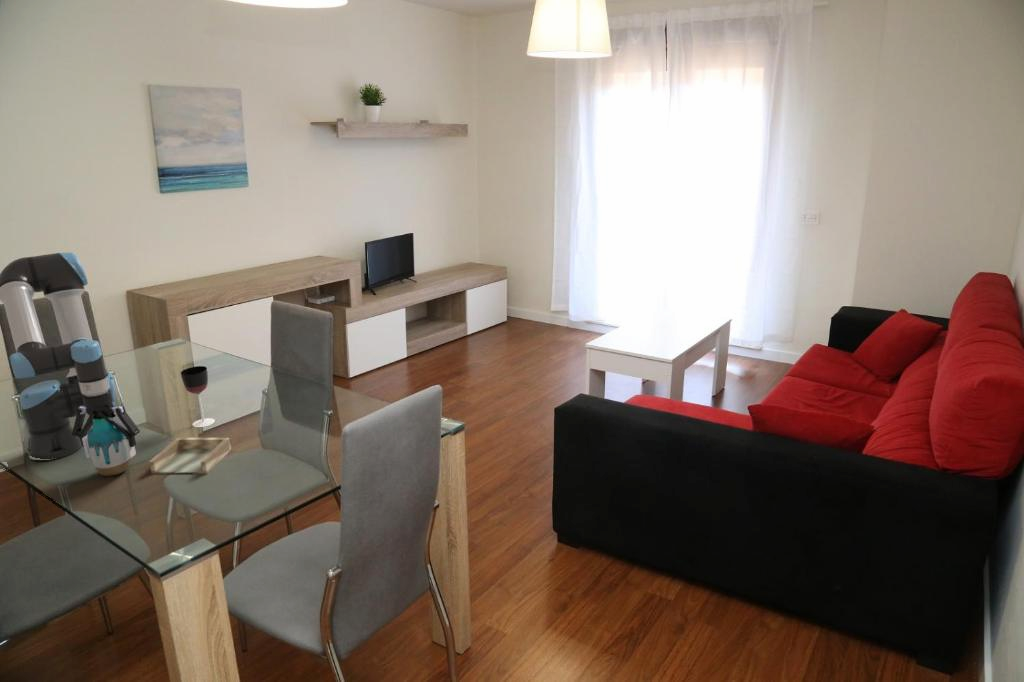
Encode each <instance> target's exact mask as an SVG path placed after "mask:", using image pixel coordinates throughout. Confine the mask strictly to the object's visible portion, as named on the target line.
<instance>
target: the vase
mask: <svg viewBox="0 0 1024 682" xmlns="http://www.w3.org/2000/svg"><path fill="white" fill-rule="evenodd" d="M112 418H113V416H112V417H111V419H112ZM92 422H93V425H92V427H91V428H90V430H89V431H88V434H87V435H88V436H87V440H88V447H89V451H90V455H91V457H90V458H91V461H92V464H93V466H94V469H95V470H96V472H98V474H100V475H103V476H108V477H109V476H111V477H112V476H116V475H120V474H122V473H123V472H125V471H127V469H129V468H130V466H131V463H132V458H129V457H128V453H127V448H126V444H125V440H124V438H126V436H125V435H124V434H122V433H121V432H120V431H119V430H118V429H117V428H116V427H115V426H113V425H112V424H111V423H108V422H107V421H106V420H105V419H104V418H103V419H94V418H93V419H92Z"/></svg>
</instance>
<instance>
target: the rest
mask: <svg viewBox="0 0 1024 682" xmlns="http://www.w3.org/2000/svg"><path fill="white" fill-rule="evenodd" d="M231 449H232V444H231V441H230V437H177V438H175V439H174V440H172V441H171V443H169V444H168V445H167V446H166V447H165V448H163V449H162V450H161V451H160V452H159V453H158V454H156V455H155V456H154V457H152V459H151V460H149V461H148V464H149V468H150V472H151V473H150V474H174V473H173V472H189V473H193V474H192V475H194V474H195V475H197V474H198V475H201V474H205V475H207V474H209V473H210V472H211V471H212V470H213V469H214V468H215V467H216V466H217V465H218V464H219V463H220V462H221V461H222V460H223V459H224V457H226V456H227V455H228V453H229V452H230V451H231ZM180 470H181V471H180Z"/></svg>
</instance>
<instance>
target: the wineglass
mask: <svg viewBox="0 0 1024 682" xmlns="http://www.w3.org/2000/svg"><path fill="white" fill-rule="evenodd" d="M180 376H181V379H182V383H183V385H184V388H185V389H186V391H187V392H188V393H190V394H195V395H196V396H197V401H198V406H199V411H200V416H201V419H197V420H195V421H194V422H193V423H192V427H195V428H203V427H208V426H211V425H212V424H214V423H215V422H216V420H215V418H211V417H207V418H205V415H204V411H203V406H202V400H201V395H200V394H201V393H202V392H203V391H205V390H206V388H207V387H208V385H209V384H208V383H209V380H208V379H209V377H208V367H207V366H204V365H197V366H192V367H188V368H186V369H183V370H182V371H181V372H180Z"/></svg>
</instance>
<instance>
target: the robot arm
mask: <svg viewBox="0 0 1024 682" xmlns="http://www.w3.org/2000/svg"><path fill="white" fill-rule="evenodd" d="M88 281H89V280H88V279H87V275H86V272H85V270H84V267H83V265H82V262H81V260H80V259H79V257H78V256H77V254H75V253H74V252H70V251H69V252H57V253H49V254H43V255H35V256H29V257H27V256H25V257H21V258H20V257H19V258H18V259H15V260H12V261H11V262H10V263H8V264H7V265H6V266H5V267H4V268H3V269H2V271H1V272H0V302H2V303H3V305H4V310H5V314H6V318H7V321H8V326H9V329H10V333H11V338H12V340H13V344H14V348H15V353H12V354H10V355H9V360H10V366H11V369H12V371H13V375H14V377H15V378H17V379H25V378H34V377H37V376H42V375H46V374H50V373H54V372H55V373H56V372H59V371H61V372H62V371H66V370H69V372H68V373H67V375H66V382H63V383H61V382H60V380H57V379H49V380H43V381H40V382H37V383H35V384H32V385H30V386H28V387H27V388H25V389H24V390H23V391H21V393H20V395H19V402H20V409H22V412H23V417H24V420H25V423H26V424H25V425H26V427H27V431H28V443H27V444H28V445H27V456H28V455H30V456H32V457H35V458H40V459H52V458H53V459H55V458H56V459H55V460H58V459H57V458H59V459H62V458H65V457H67V456H69V455H72V454H74V453H76V452H77V451H79V450H80V449H81V448H83V449H84V452H85V456H86V458H87V459H89V458H91V455H90V451H89V447H88V440H87V436H88V432H89V431H90V430H91V429H92V428H93V422H92V419H93V418H94V419H103V418H104V419H105V420H106V421H107V422H108V423H111V424H112V425H113V426H115V427H116V428H117V429H118V430H119V431H120V432H121V433H122V434H124V435H125V436H126V438H124V440H125V444H126V448H127V453H128V457H129V458H131V459H132V458H133V457H134V456H136V455H137V450H136V448H135V446H136V444H137V443H136V442H137V441H136V437H135V436H137V435H139V433H140V432H141V430H140V429H139V428H138V426H137V425H136V423H135V422H134V421H133V420H132V418H131V417H130V415H129V414H128V413H127V411H126V409H125V406H124V405H123V404H121V405H119V406H115V404H116V390H115V381H114V376H113V374H112V373H110V372H107V369H106V366H105V361H104V358H103V357H104V356H103V351H102V348H101V345H100V342H99V341H97V340H93V337H92V332H91V329H90V326H89V321H88V317H87V314H86V309H85V305H84V302H83V298H82V295H83V294H84V292H85V287H86V286H87V285H88V283H89V282H88ZM84 286H85V287H84ZM35 293H43V296H44V298H45V299H48V300H49V301H50V302H51V305H52V308H53V309H52V310H53V311H54V312H53V313H54V317H55V319H56V323H57V327H58V332H59V335H60V337H61V341H62V344H61V345H55V346H53V345H52V346H48V347H47V345H46V342H45V341H46V340H45V338H44V333H43V331H42V327H41V325H40V321H39V318H38V314H37V310H36V307H35V304H34V300H33V297H34V295H35ZM86 415H88V417H87V419H86V421H85V418H86ZM112 416H113V418H112V419H111V417H112ZM71 418H75V421H74V425H71V421H70V419H71ZM84 422H85V423H84ZM61 457H62V458H61Z"/></svg>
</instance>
